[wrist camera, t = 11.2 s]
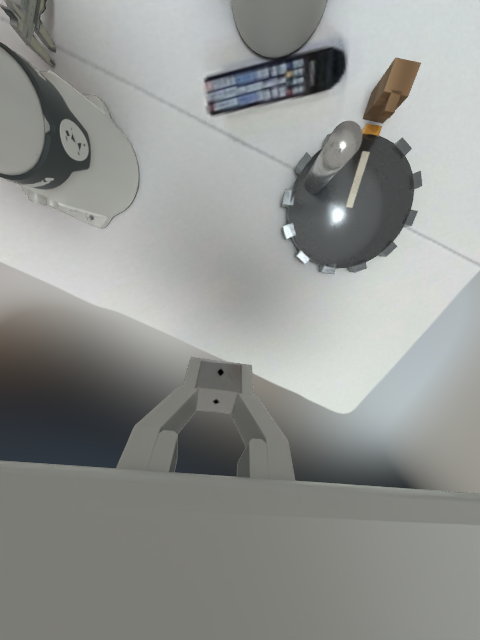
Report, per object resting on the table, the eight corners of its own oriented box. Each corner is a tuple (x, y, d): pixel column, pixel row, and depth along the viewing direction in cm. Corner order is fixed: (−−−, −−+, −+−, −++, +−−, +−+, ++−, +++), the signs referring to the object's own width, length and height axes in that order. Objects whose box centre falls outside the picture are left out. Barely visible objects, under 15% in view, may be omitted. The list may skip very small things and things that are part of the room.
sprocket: (258, 195, 32) (258, 158, 20) (378, 96, 27) (478, -36, 15) (317, 294, 36) (347, 313, 24) (431, 224, 31) (543, 204, 19)
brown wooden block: (358, 132, 29) (377, 108, 24) (372, 91, 27) (395, 57, 23) (377, 137, 29) (401, 114, 24) (392, 96, 27) (421, 62, 22)
